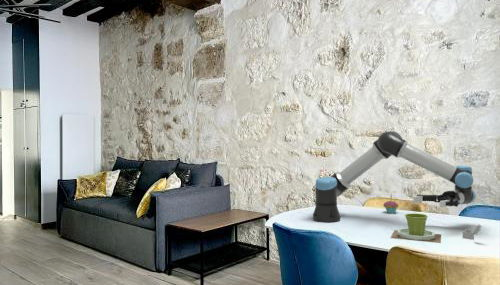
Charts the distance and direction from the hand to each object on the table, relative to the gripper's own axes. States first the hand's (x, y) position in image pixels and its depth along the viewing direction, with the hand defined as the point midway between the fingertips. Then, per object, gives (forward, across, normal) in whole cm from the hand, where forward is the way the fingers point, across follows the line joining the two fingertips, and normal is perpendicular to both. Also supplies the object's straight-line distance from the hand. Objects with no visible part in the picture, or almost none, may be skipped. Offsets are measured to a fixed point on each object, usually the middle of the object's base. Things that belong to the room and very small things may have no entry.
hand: (426, 202), depth 180 cm
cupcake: (-31, +44, -16) cm, 56 cm away
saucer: (+11, -2, -14) cm, 18 cm away
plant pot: (+11, -2, -14) cm, 18 cm away
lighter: (-4, -19, -15) cm, 25 cm away
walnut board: (+11, -2, -16) cm, 19 cm away
